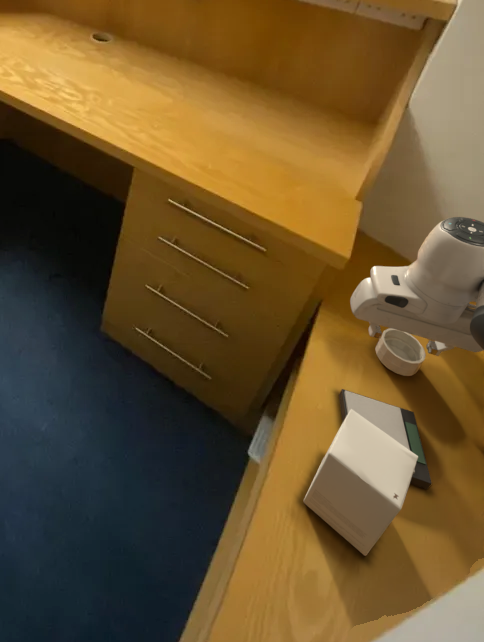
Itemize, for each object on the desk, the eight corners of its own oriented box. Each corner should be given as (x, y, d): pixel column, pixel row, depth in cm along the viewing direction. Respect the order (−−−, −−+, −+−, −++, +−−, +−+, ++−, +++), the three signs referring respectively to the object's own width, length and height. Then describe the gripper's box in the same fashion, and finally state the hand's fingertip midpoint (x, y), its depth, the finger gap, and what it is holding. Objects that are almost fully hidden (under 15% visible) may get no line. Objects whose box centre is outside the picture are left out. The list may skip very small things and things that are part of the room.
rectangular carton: (385, 505, 77) (422, 456, 70) (365, 558, 72) (403, 512, 64) (323, 455, 83) (351, 405, 75) (300, 501, 78) (328, 452, 70)
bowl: (411, 349, 98) (419, 335, 96) (420, 382, 93) (430, 368, 91) (371, 337, 100) (379, 323, 98) (378, 369, 95) (386, 355, 93)
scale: (409, 418, 88) (415, 409, 86) (427, 489, 79) (433, 482, 77) (338, 394, 91) (342, 386, 90) (347, 461, 82) (352, 453, 81)
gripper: (497, 298, 87) (462, 346, 93) (362, 263, 93) (339, 311, 100) (513, 330, 81) (475, 379, 88) (369, 291, 88) (344, 339, 94)
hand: (402, 342), depth 94 cm, fingers open, 8 cm apart
